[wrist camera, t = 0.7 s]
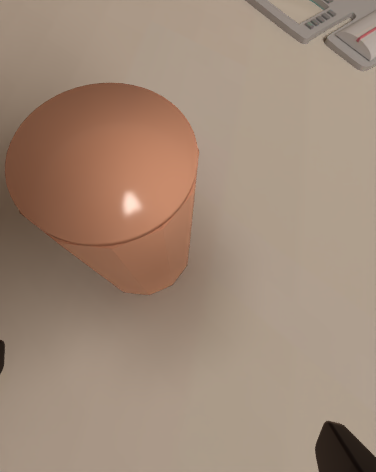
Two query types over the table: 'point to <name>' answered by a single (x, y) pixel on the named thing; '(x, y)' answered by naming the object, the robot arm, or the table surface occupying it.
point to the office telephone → (335, 11)
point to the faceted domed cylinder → (110, 181)
